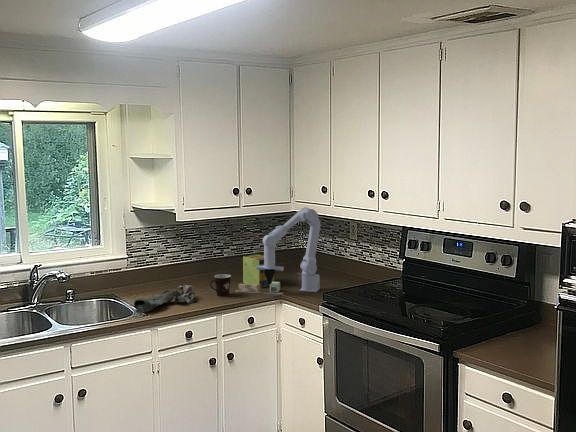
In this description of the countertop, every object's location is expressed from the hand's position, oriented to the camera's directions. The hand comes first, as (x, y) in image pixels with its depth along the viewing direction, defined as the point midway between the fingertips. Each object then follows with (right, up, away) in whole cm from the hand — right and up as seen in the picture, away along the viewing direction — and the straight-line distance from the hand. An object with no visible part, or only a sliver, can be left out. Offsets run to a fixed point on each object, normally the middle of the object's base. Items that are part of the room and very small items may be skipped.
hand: (269, 283), depth 328 cm
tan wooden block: (-11, -5, +4) cm, 13 cm away
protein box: (-7, -3, +21) cm, 22 cm away
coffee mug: (-26, -6, -3) cm, 27 cm away
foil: (-42, -8, -13) cm, 45 cm away
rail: (-6, -5, +2) cm, 8 cm away
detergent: (-54, -9, -24) cm, 60 cm away
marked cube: (+2, -5, +6) cm, 8 cm away
